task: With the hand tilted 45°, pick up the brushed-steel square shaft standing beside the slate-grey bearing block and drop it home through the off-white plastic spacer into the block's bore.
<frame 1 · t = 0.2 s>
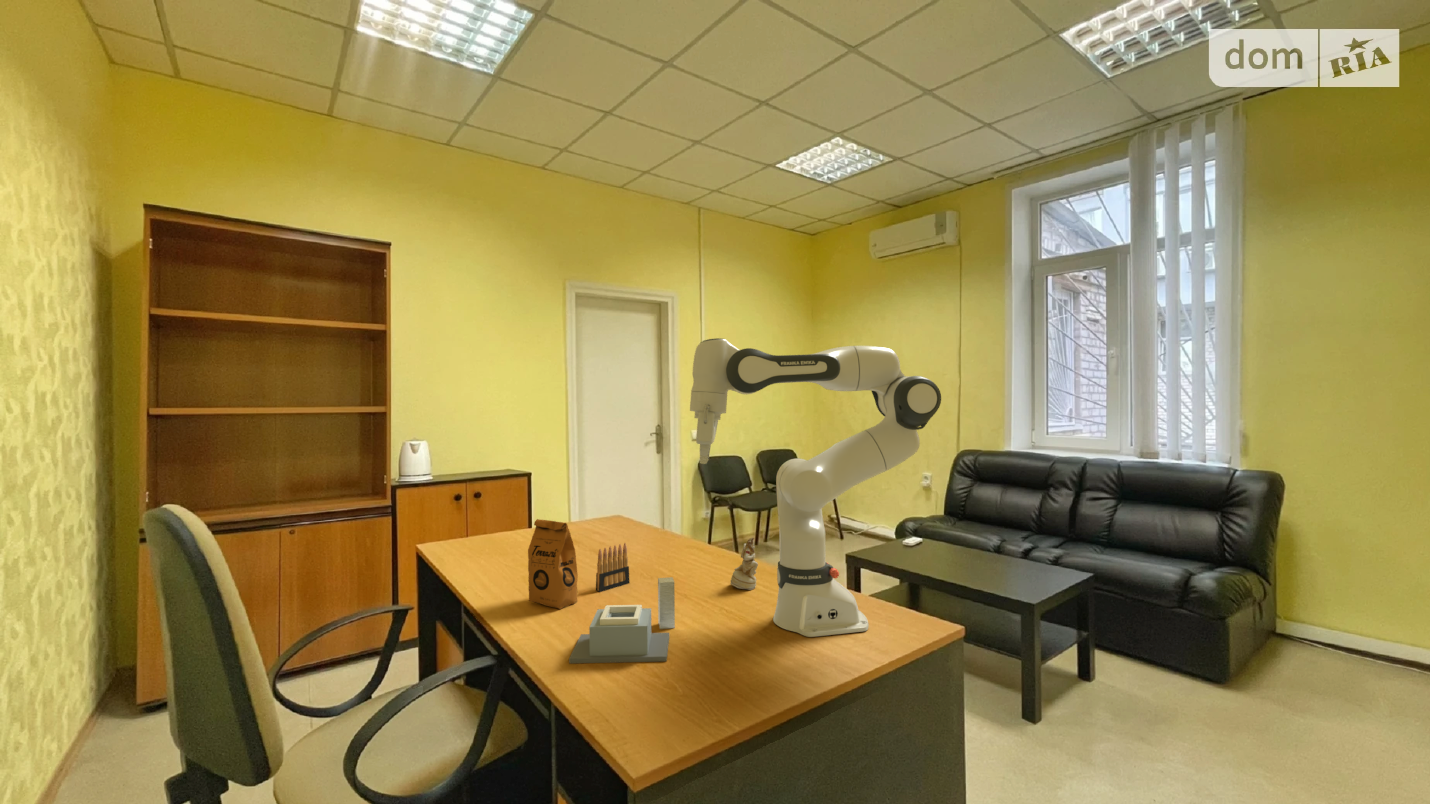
hand: (704, 462, 137), 39 cm above the table, tool pointing down, fingers open, 8 cm apart
bearing block: (621, 649, 123), on the table
ammunition clip: (613, 587, 164), on the table
shaft: (666, 625, 136), on the table
spacer: (621, 617, 123), point 7 cm above the table, touching bearing block
figurine: (744, 587, 163), on the table
coffee package: (553, 603, 152), on the table
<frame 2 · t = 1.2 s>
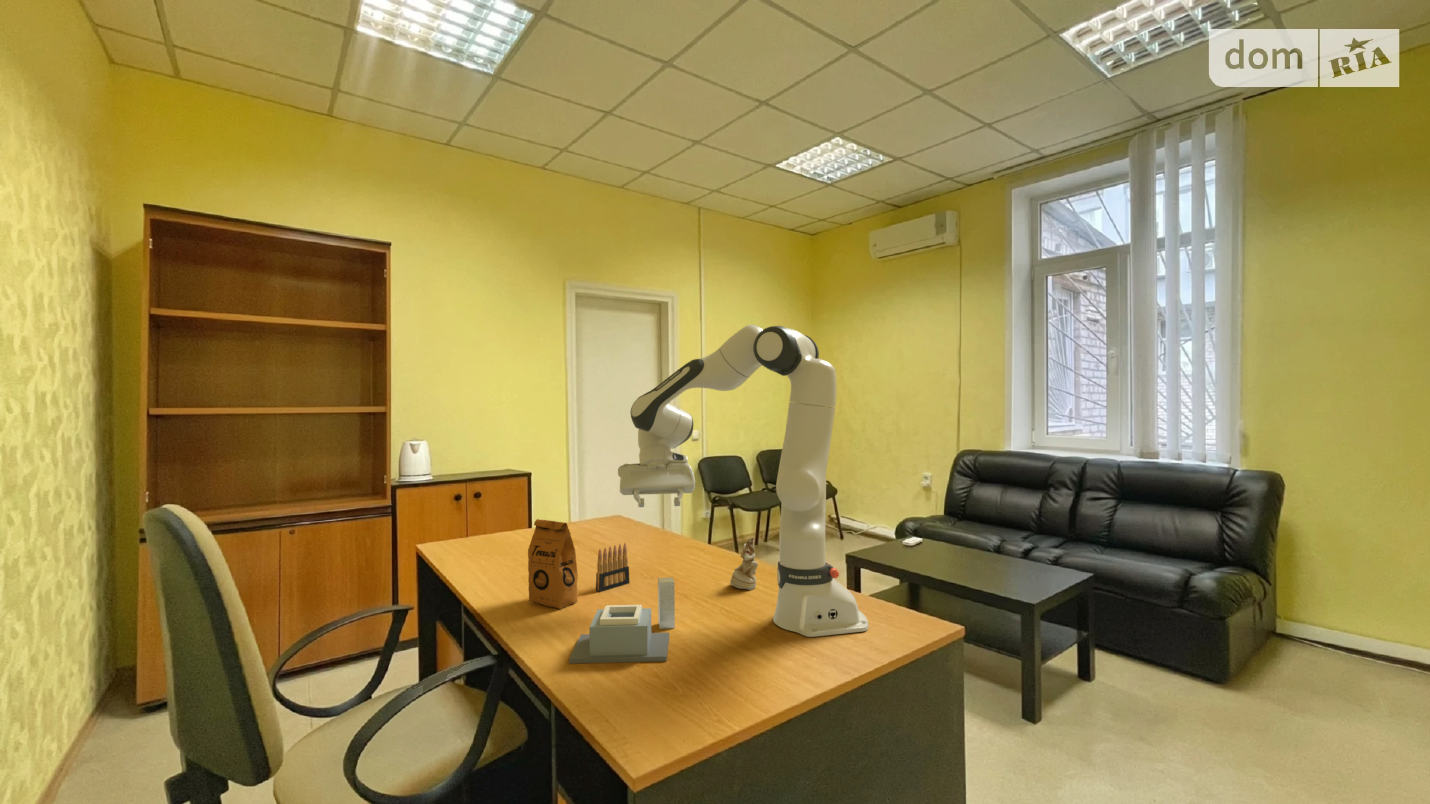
hand: (659, 505, 148), 27 cm above the table, tool tilted 45°, fingers open, 8 cm apart
nothing on the table moved.
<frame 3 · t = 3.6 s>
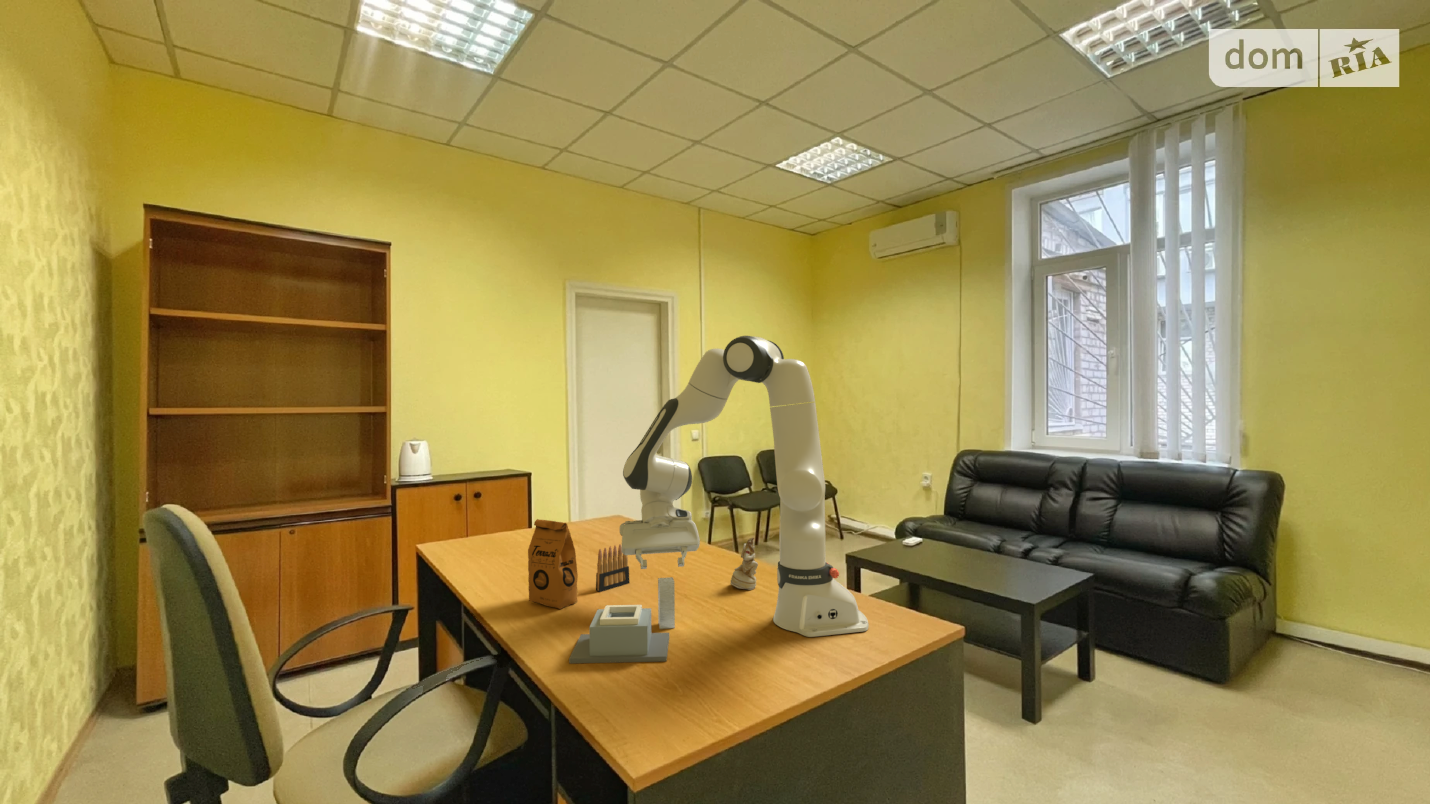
hand: (662, 566, 142), 12 cm above the table, tool tilted 45°, fingers open, 8 cm apart
nothing on the table moved.
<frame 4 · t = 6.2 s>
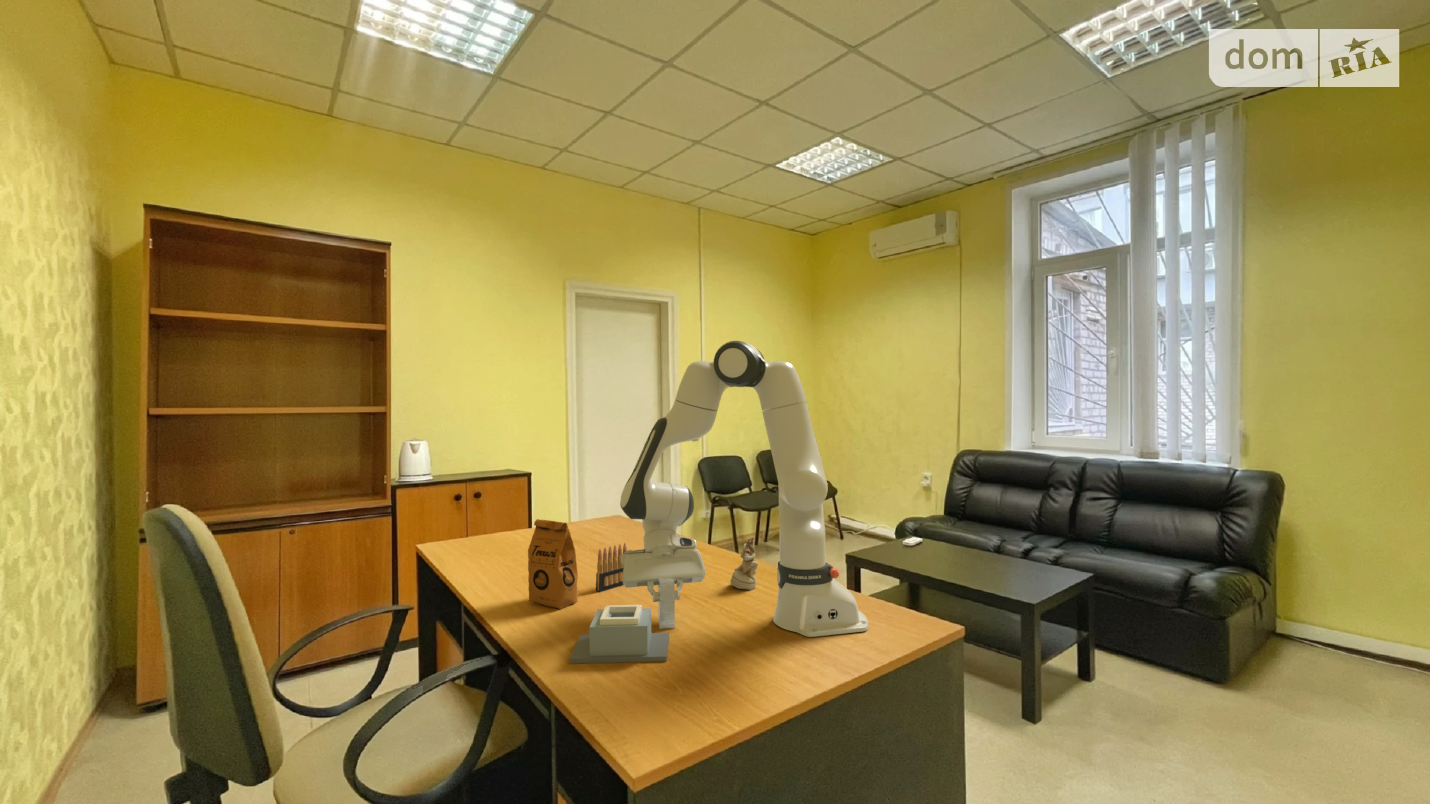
hand: (666, 600, 135), 6 cm above the table, tool tilted 45°, fingers closed on shaft, 3 cm apart
shaft: (666, 625, 136), on the table, touching gripper
everything else where it was.
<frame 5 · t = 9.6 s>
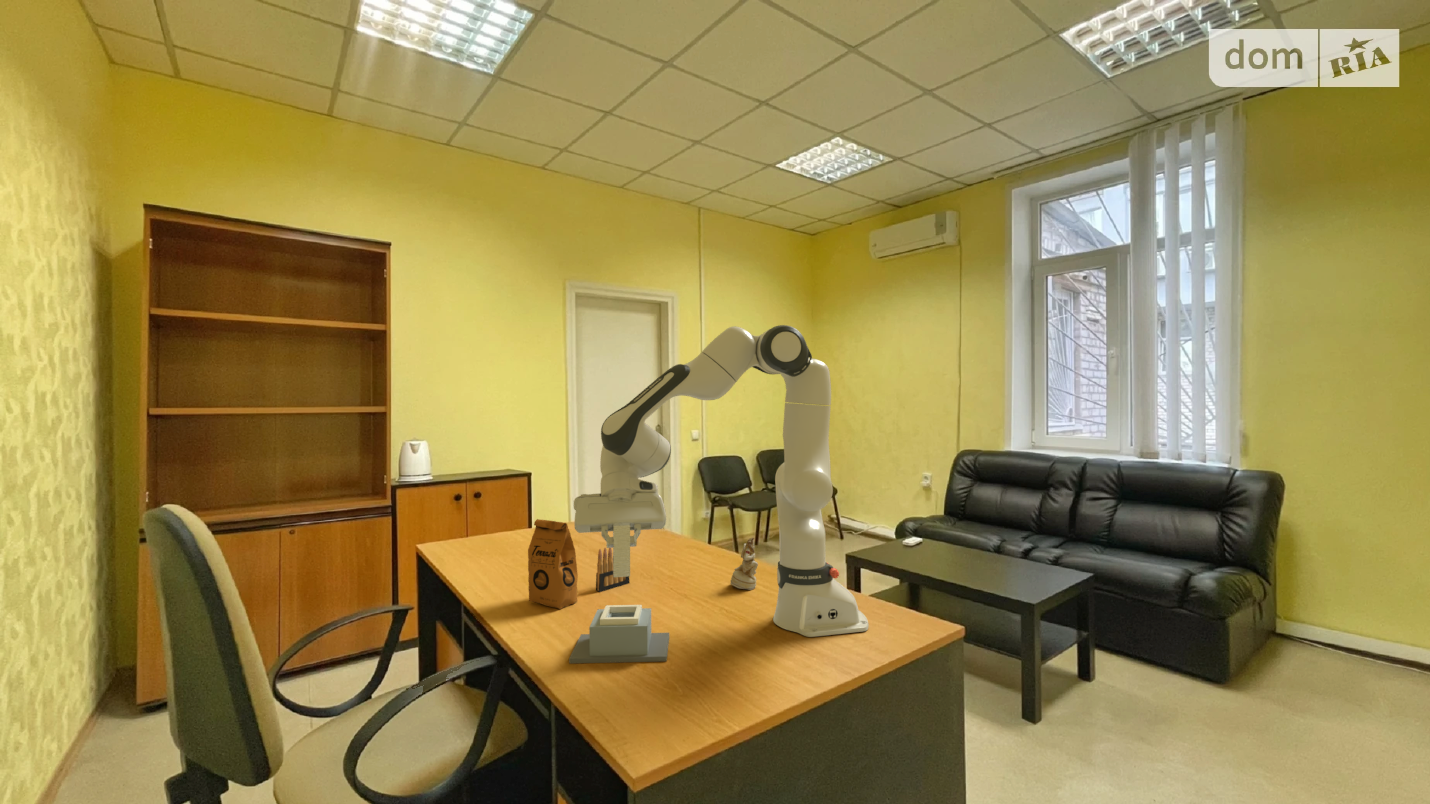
hand: (621, 545, 123), 23 cm above the table, tool tilted 45°, fingers closed on shaft, 3 cm apart
shaft: (621, 574, 123), point 16 cm above the table, touching gripper
everything else where it was.
when the fingers open (10 cm above the table, at t = 13.0 s): shaft drops 2 cm, resting on bearing block.
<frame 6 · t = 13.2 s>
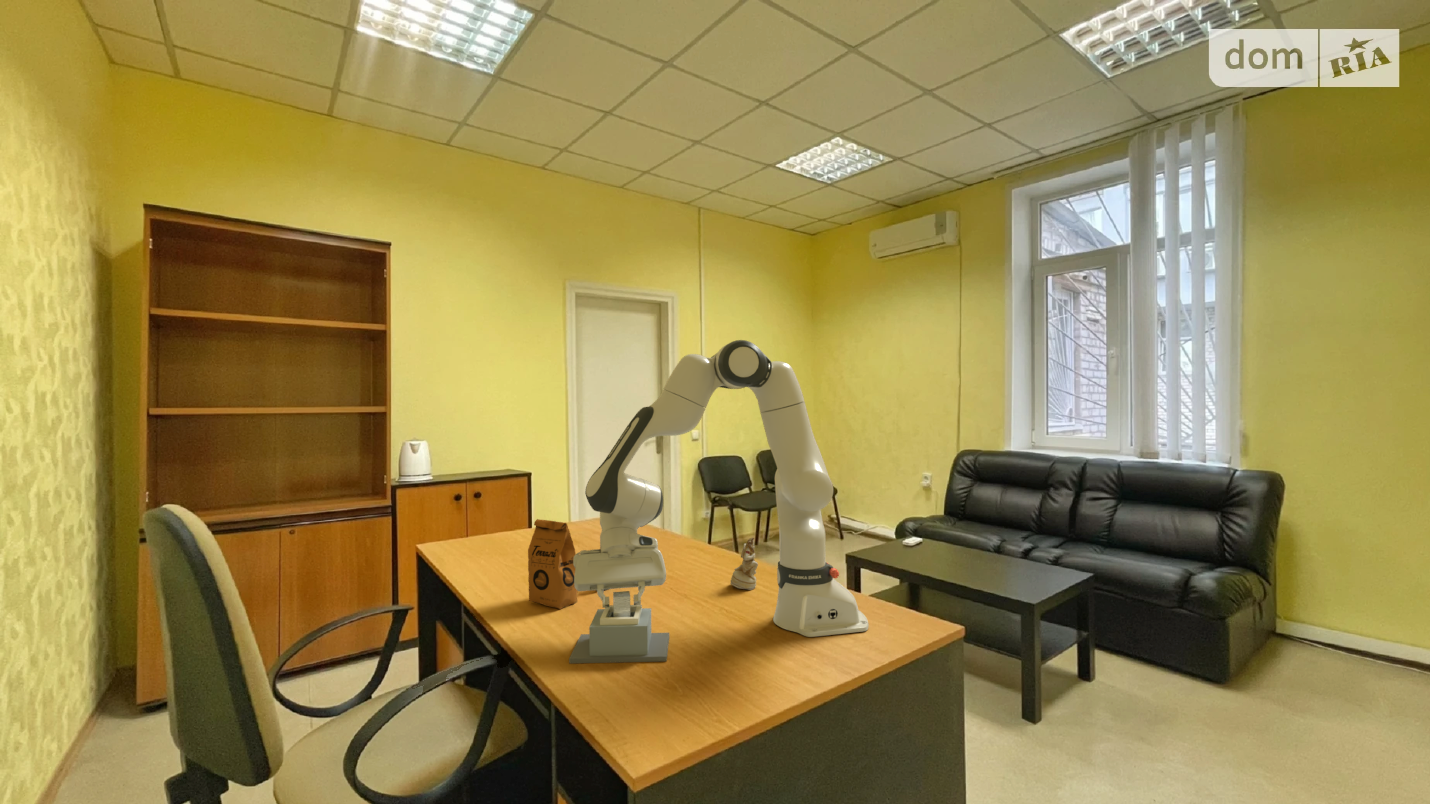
hand: (621, 605, 122), 10 cm above the table, tool tilted 45°, fingers open, 5 cm apart
shaft: (621, 644, 123), point 1 cm above the table, touching bearing block
everything else where it was.
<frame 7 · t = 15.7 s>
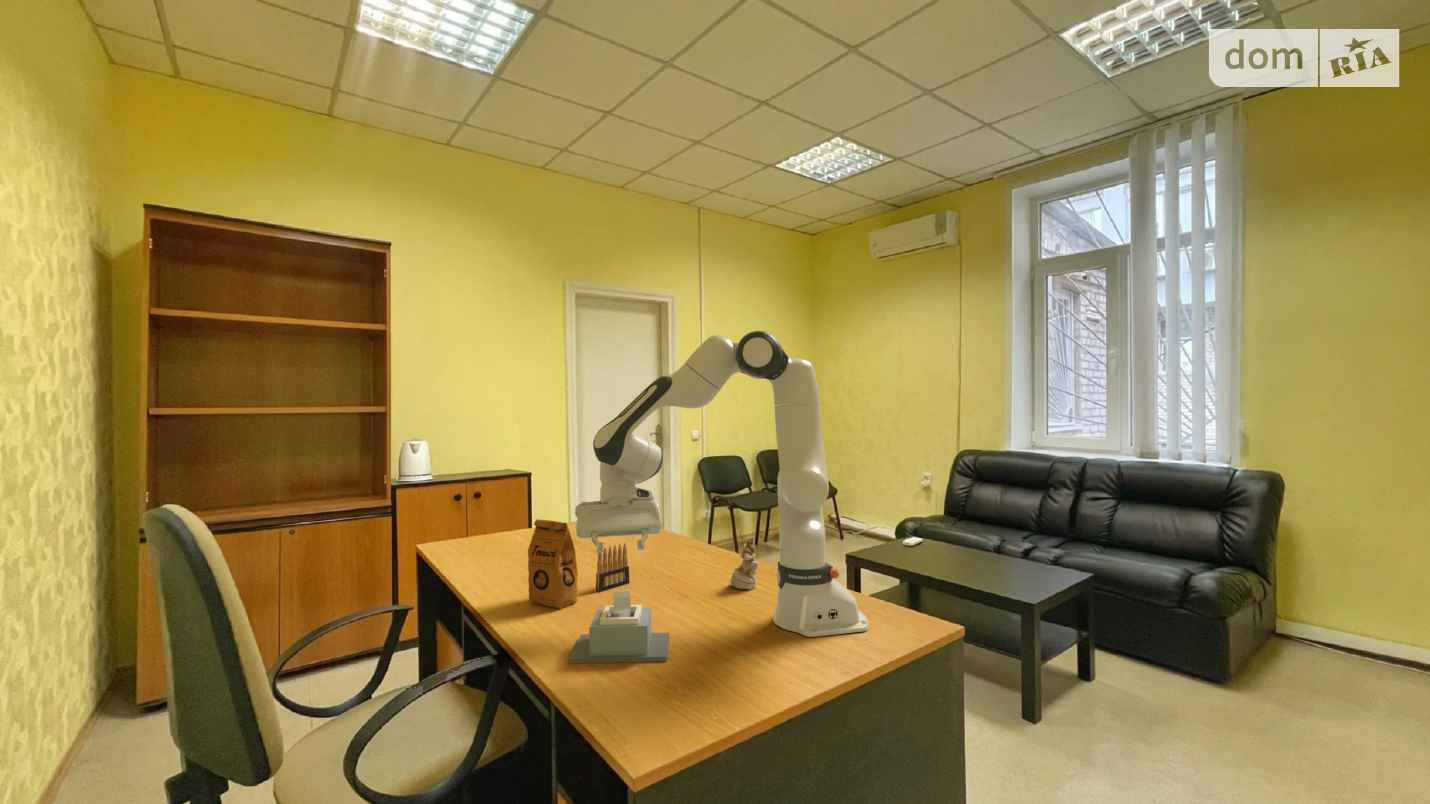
hand: (620, 550, 131), 19 cm above the table, tool tilted 45°, fingers open, 8 cm apart
nothing on the table moved.
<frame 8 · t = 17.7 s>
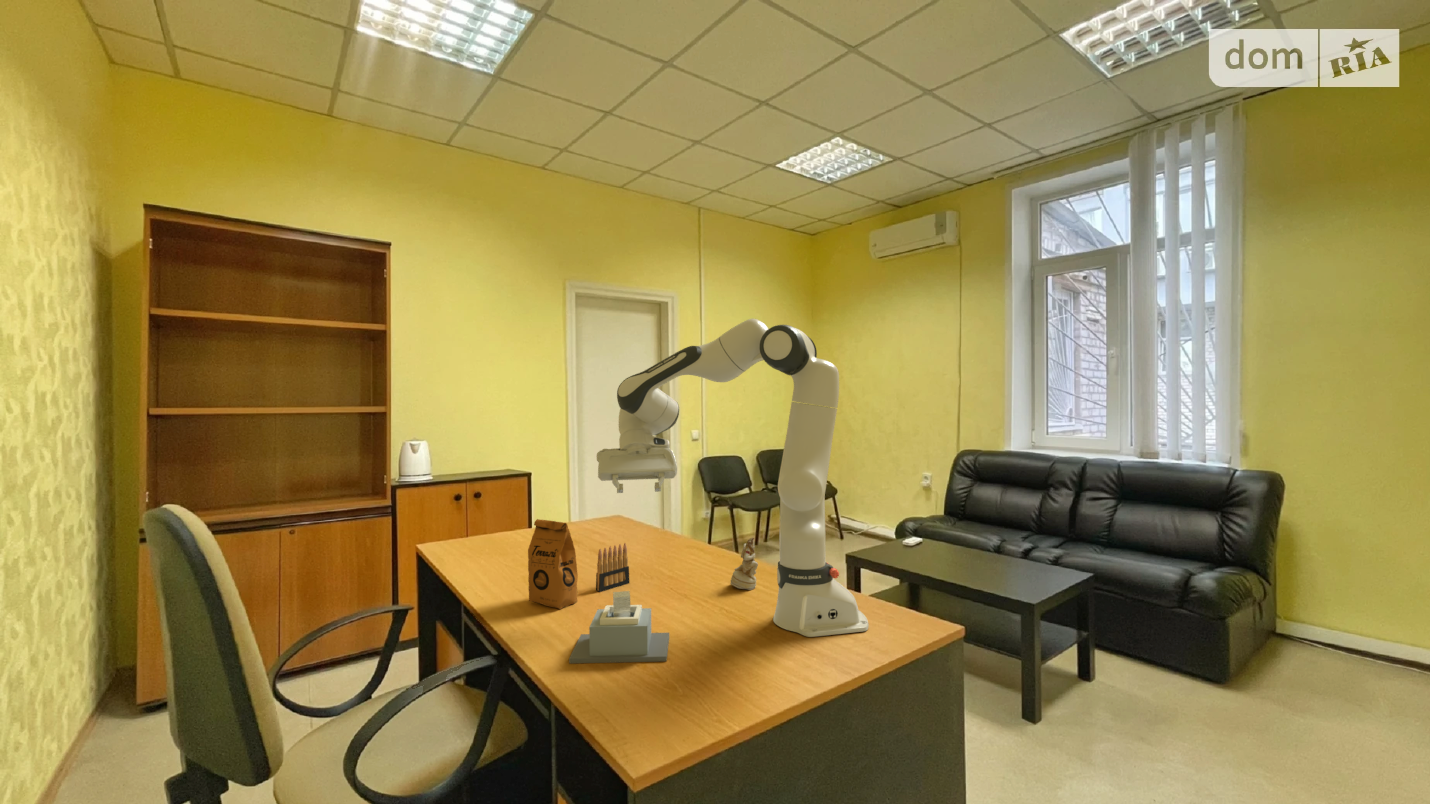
hand: (639, 490, 142), 31 cm above the table, tool tilted 45°, fingers open, 8 cm apart
nothing on the table moved.
at the end: shaft 0.1 cm off-centre on the bearing block, point 1.0 cm above the bearing block's base; shaft tilted 0°; the gripper is holding nothing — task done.
